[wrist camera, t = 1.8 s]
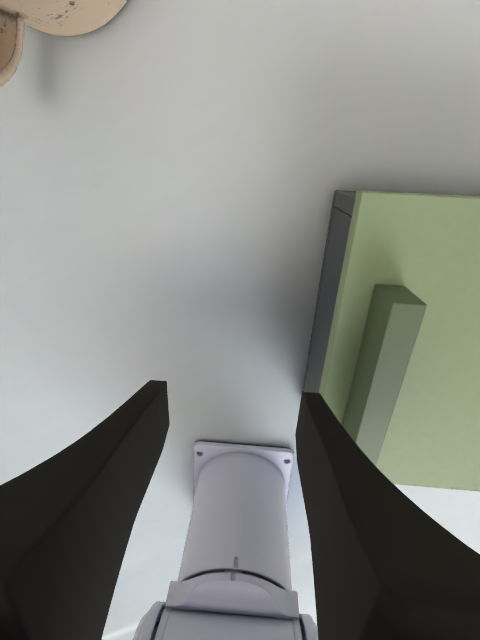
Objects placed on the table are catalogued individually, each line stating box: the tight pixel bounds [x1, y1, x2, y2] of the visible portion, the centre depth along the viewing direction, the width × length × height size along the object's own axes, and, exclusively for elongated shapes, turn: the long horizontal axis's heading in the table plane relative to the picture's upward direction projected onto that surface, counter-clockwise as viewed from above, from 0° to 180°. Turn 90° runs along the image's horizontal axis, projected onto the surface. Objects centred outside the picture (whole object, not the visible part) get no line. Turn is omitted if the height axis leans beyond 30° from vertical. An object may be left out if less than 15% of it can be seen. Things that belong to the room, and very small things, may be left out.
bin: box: [302, 190, 357, 393], centre depth 18 cm, size 14×12×6 cm
